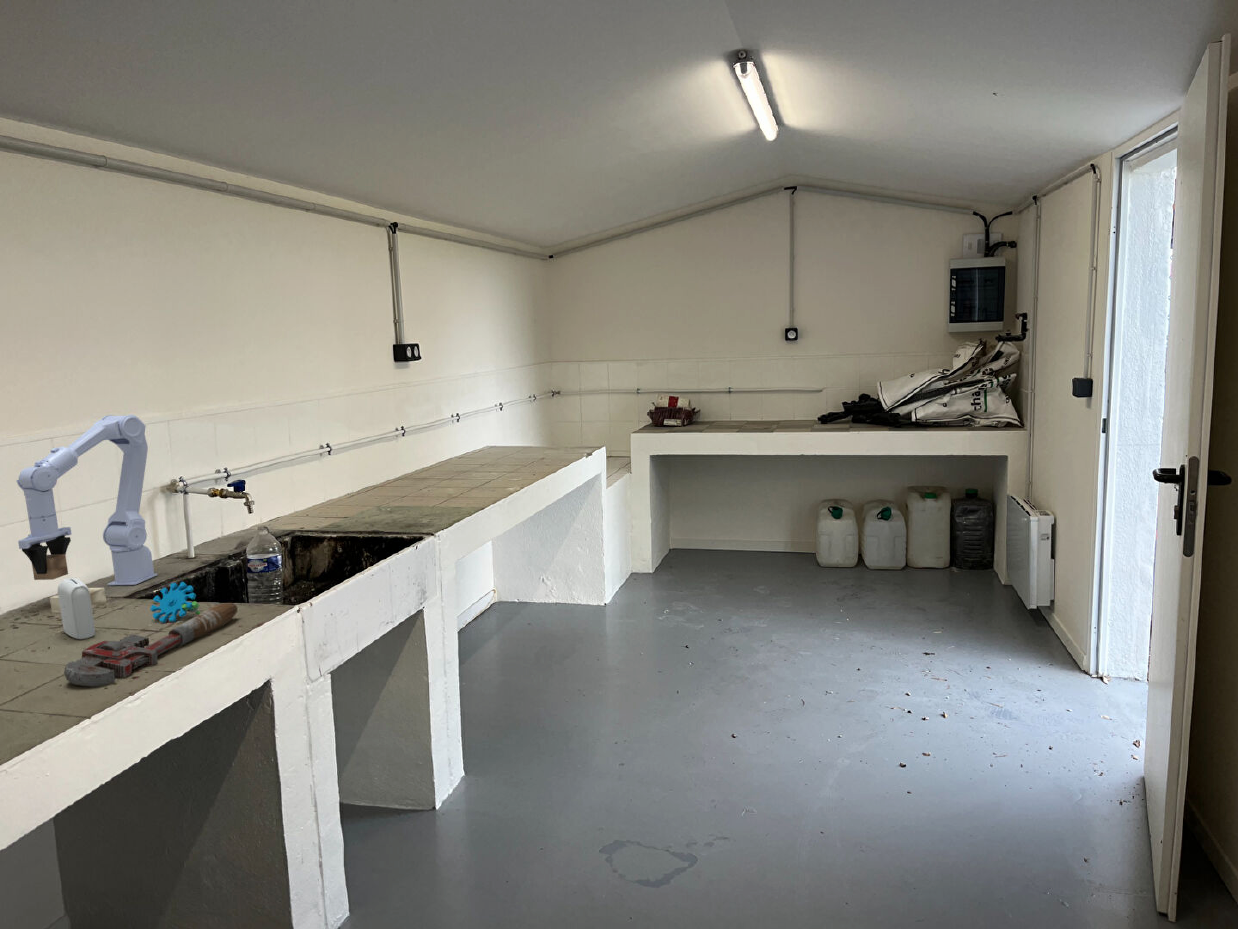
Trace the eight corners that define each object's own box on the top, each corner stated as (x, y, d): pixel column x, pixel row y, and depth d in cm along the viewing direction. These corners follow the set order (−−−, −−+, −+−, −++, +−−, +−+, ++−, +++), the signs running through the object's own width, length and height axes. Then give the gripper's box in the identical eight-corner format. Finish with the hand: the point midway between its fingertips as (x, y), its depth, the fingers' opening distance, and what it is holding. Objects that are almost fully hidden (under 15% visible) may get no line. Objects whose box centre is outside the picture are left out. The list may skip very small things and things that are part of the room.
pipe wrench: (105, 691, 161) (101, 665, 160) (48, 689, 164) (44, 662, 163) (247, 619, 200) (244, 597, 199) (199, 618, 203) (196, 597, 202)
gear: (140, 616, 200) (164, 577, 206) (155, 628, 205) (177, 589, 210) (181, 624, 197) (204, 584, 203) (195, 636, 202) (217, 597, 207)
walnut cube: (49, 574, 222) (47, 554, 222) (68, 574, 222) (65, 554, 221) (34, 579, 217) (31, 559, 217) (52, 579, 217) (49, 559, 216)
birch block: (77, 603, 221) (75, 588, 220) (106, 603, 219) (104, 587, 219) (52, 614, 213) (49, 597, 212) (82, 614, 212) (79, 597, 211)
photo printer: (61, 632, 197) (53, 577, 195) (83, 627, 200) (75, 573, 198) (76, 641, 190) (67, 585, 188) (98, 636, 193) (90, 580, 191)
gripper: (50, 510, 225) (57, 563, 227) (3, 522, 211) (12, 579, 213) (75, 509, 224) (83, 562, 226) (30, 522, 210) (39, 578, 212)
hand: (50, 570), depth 219 cm, fingers closed on walnut cube, 5 cm apart
